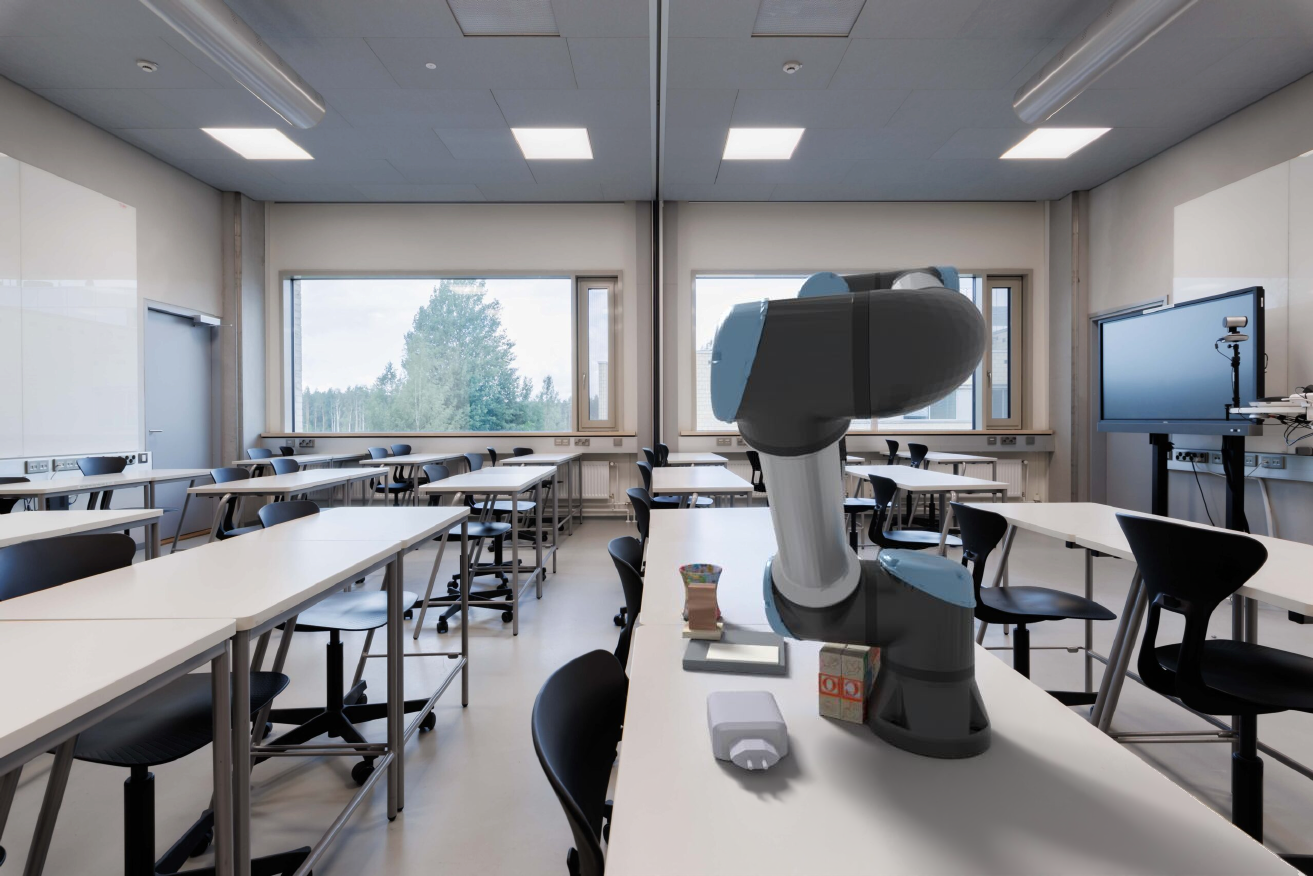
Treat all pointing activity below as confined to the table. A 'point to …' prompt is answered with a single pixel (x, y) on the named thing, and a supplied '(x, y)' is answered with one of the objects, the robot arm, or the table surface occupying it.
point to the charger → (746, 728)
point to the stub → (702, 613)
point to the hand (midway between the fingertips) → (832, 497)
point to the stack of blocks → (846, 680)
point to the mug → (699, 580)
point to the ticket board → (738, 653)
